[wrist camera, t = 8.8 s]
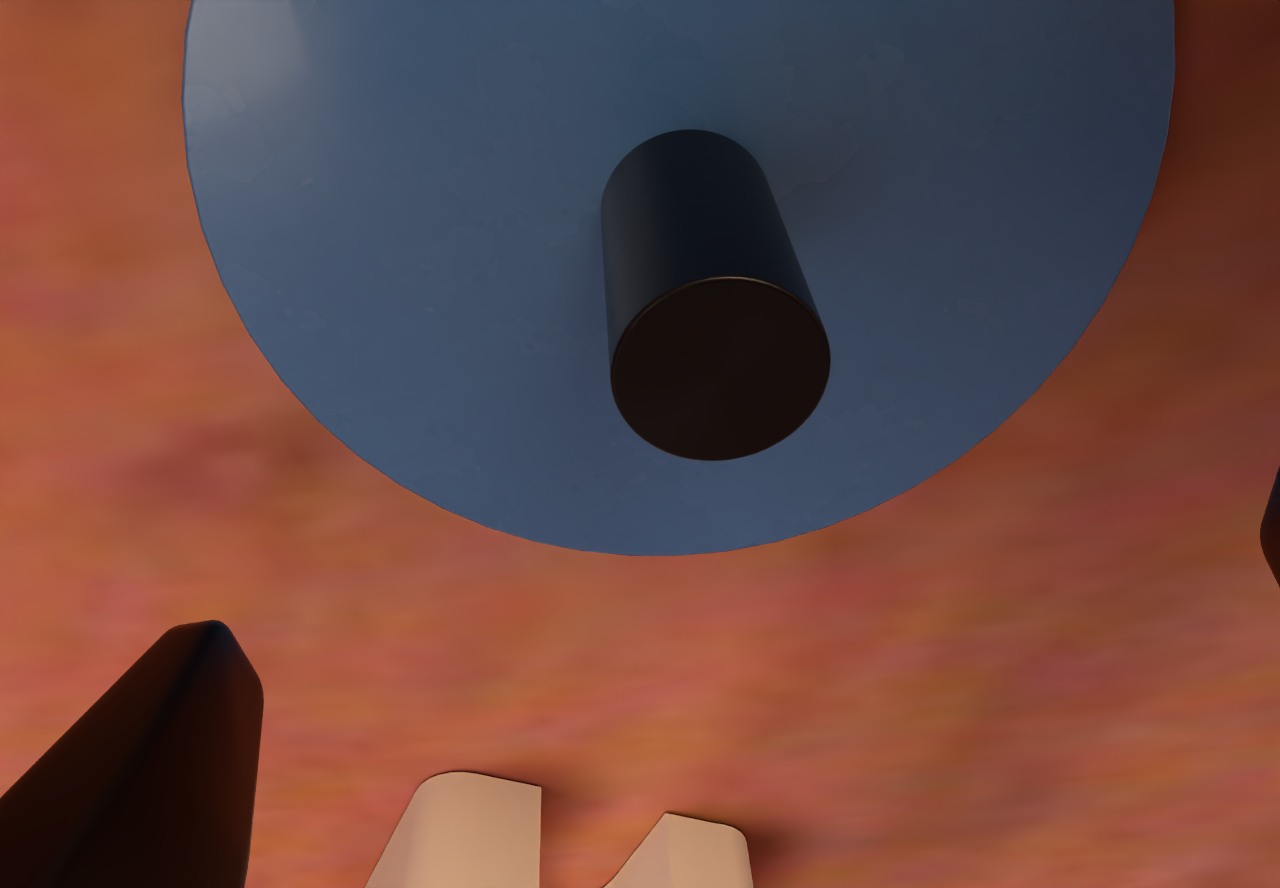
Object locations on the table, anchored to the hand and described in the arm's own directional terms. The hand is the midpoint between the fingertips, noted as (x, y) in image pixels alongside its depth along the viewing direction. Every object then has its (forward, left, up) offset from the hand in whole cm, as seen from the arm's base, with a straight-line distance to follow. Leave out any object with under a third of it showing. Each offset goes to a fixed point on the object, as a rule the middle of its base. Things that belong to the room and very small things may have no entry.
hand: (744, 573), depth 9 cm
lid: (0, 0, -9) cm, 9 cm away
